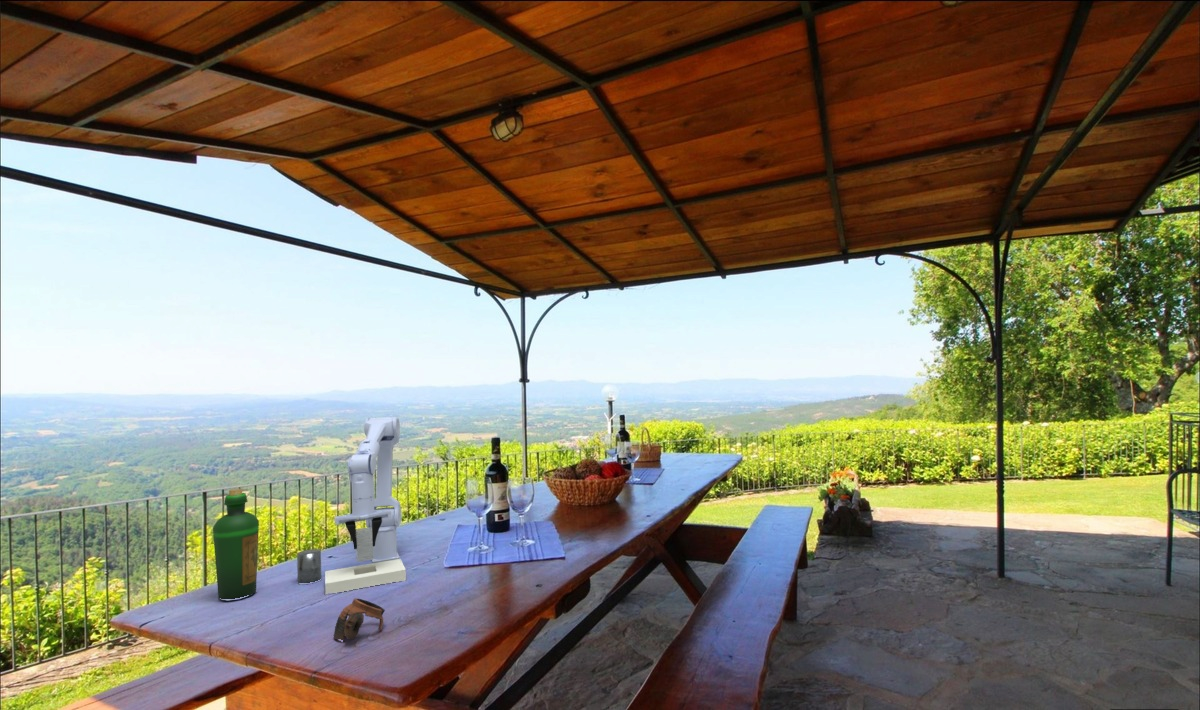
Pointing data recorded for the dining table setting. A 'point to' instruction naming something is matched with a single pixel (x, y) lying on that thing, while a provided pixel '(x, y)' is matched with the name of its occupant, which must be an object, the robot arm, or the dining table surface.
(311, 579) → the round dark peg
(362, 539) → the square steel peg
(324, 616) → the dining table surface
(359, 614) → the brown curved piece
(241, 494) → the bottle
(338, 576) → the cream socket block
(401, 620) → the dining table surface
